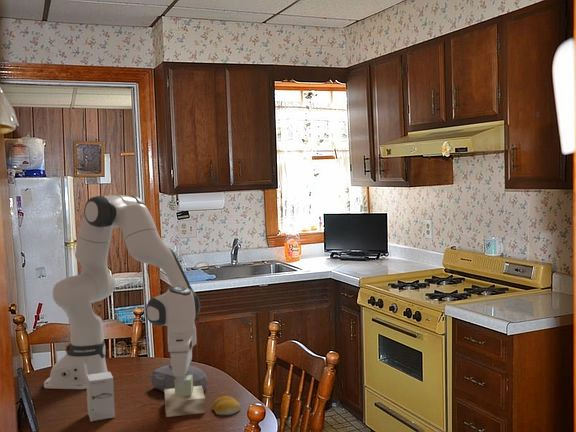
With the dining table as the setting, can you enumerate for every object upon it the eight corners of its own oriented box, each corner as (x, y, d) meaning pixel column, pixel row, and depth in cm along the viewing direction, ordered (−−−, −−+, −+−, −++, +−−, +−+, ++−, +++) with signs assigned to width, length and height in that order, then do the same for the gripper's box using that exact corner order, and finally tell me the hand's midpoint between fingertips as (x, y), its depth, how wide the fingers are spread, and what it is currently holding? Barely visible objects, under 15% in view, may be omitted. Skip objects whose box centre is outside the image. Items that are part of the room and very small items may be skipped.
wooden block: (166, 418, 192) (165, 402, 192) (164, 404, 204) (164, 389, 204) (205, 413, 195) (205, 398, 195) (202, 400, 207) (201, 385, 206)
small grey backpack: (145, 390, 218) (185, 402, 205) (144, 366, 217) (184, 376, 205) (178, 378, 229) (218, 389, 217) (178, 355, 229) (217, 365, 216)
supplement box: (90, 422, 190) (88, 381, 189) (87, 414, 196) (85, 374, 196) (115, 418, 193) (113, 377, 192) (112, 410, 199) (110, 370, 199)
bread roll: (217, 418, 191) (217, 405, 191) (210, 408, 199) (209, 395, 199) (244, 413, 194) (243, 400, 194) (235, 403, 202) (235, 391, 202)
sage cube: (175, 396, 197) (174, 380, 196) (177, 391, 202) (176, 375, 201) (191, 395, 197) (190, 380, 196) (193, 390, 202) (192, 374, 201)
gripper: (176, 331, 208) (177, 372, 209) (167, 348, 188) (169, 393, 189) (195, 330, 209) (197, 371, 209) (188, 347, 188) (190, 393, 189)
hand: (183, 382), depth 199 cm, fingers open, 8 cm apart
